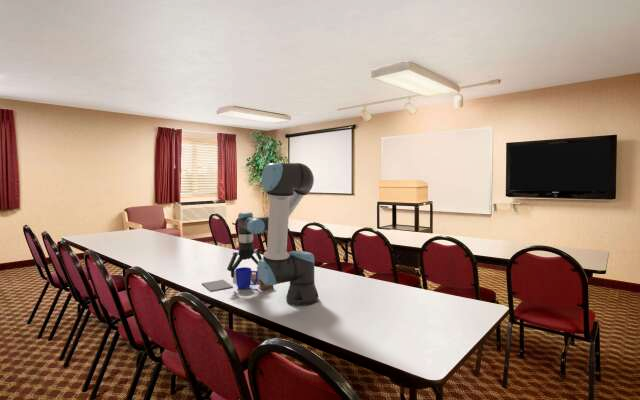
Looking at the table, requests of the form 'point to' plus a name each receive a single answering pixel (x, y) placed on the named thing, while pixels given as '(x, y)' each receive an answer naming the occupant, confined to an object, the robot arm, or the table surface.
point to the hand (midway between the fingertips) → (246, 281)
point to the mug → (244, 277)
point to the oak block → (254, 277)
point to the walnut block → (265, 286)
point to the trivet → (217, 285)
